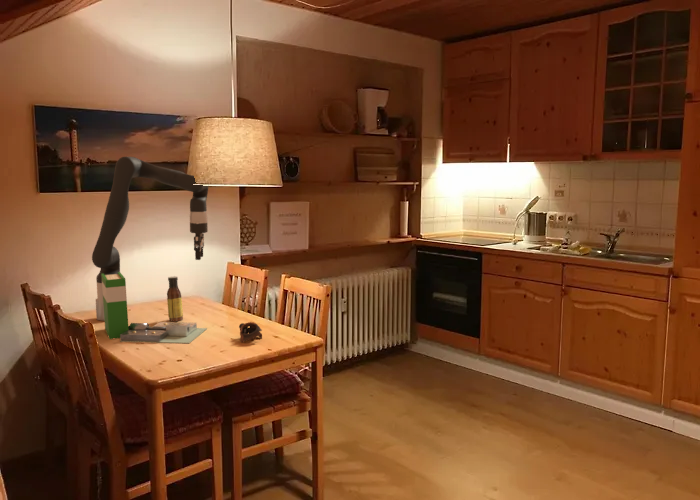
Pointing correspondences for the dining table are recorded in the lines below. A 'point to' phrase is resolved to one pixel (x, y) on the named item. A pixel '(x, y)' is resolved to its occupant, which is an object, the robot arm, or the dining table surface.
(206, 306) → the dining table surface
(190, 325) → the pale grey flat block
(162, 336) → the grey stepped block
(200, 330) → the mat
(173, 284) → the sauce bottle
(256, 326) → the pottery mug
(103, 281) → the hardback book
